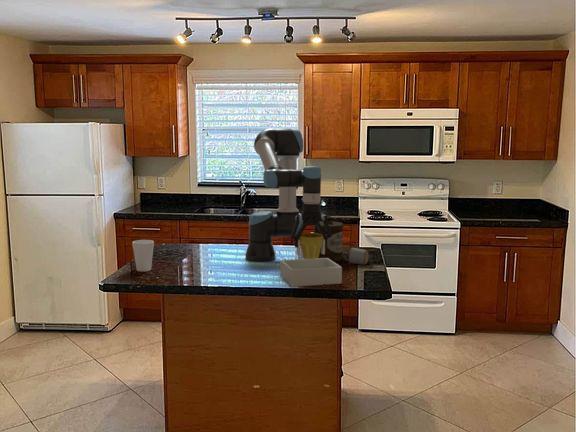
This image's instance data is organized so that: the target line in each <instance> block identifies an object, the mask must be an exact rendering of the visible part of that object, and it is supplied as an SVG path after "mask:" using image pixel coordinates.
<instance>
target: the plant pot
mask: <svg viewBox="0 0 576 432" xmlns="http://www.w3.org/2000/svg"><path fill="white" fill-rule="evenodd" d="M299 240H300V250H301V253H302V259H316V258H318V257H319V253H320V248H321V244H322V243H323V235H322V234H317V233H314V232H306V233H305V232H304V233H302V234H301V236H300V238H299Z"/></svg>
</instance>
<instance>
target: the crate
mask: <svg viewBox="0 0 576 432" xmlns="http://www.w3.org/2000/svg"><path fill="white" fill-rule="evenodd" d="M279 266H280V267H279V269H280V271H279V274H280V275H279V276H280V278H282V279H283V280H284V281H285V282H286V283H287V284H288V285H289V286H290V287H302V286H303V287H305V286H306V287H307V286H308V287H309V286H323V285H324V284H325V285H337V284H338V285H339V284H342V283H343V282H342V280H343V279H342V278H343V276H342V275H343V273H342V272H343V267H342V266H341V265H340V264H338V263H336V261H335V262H333V261H332V260H330V259H328V258H317V259H305V258H302V259H296V258H295V259H281V260H280V263H279Z"/></svg>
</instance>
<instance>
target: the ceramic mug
mask: <svg viewBox="0 0 576 432" xmlns="http://www.w3.org/2000/svg"><path fill="white" fill-rule="evenodd" d="M369 255H370V254H369V251H368V250H366V249H361V248H357V247H351V248H350V251H349V255H348V261H349V264H354V265H363V266H365V265H366V264H367V263H368V261H369V258H370V257H369Z"/></svg>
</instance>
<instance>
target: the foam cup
mask: <svg viewBox="0 0 576 432" xmlns="http://www.w3.org/2000/svg"><path fill="white" fill-rule="evenodd" d="M154 247H155V242H154V240H151V239H138V240H133V241H132V249H133V250H132V251H133V257H134V261H135V267H136V272H149V271H151V270H152V265H153V264H152V263H153V255H154Z"/></svg>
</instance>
